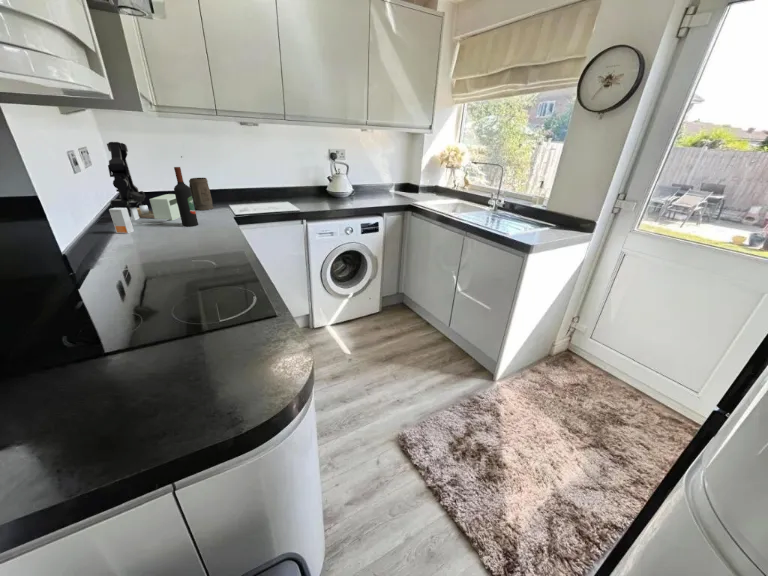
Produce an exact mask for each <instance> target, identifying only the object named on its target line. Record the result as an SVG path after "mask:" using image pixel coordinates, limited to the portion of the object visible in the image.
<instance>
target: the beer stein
mask: <svg viewBox="0 0 768 576" xmlns="http://www.w3.org/2000/svg"><path fill="white" fill-rule="evenodd" d="M208 182H209V181H208V179H207V177H192V178H189V180H188V183H189V187H190V190H191V194H192V198H193V203H194V207H195V210H196V209H197V210H196V211H210V210H209V209H211V210H214V208H215V207H214V204H213V198H212V194H211V190H210V187H209V183H208Z"/></svg>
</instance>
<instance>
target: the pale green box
mask: <svg viewBox="0 0 768 576" xmlns="http://www.w3.org/2000/svg"><path fill="white" fill-rule="evenodd" d="M149 203H150V207H151V211H153V214H154V217H155V218H154V219H155V220H166V221H168V222H169V221H174V220H177V219H181V217H180V213H179V208H178V204H177V200H176V196H175V193H168V194H167V193H166V194H162V195H158V196H155V197H152V198H149Z"/></svg>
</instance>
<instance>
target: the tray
mask: <svg viewBox="0 0 768 576" xmlns="http://www.w3.org/2000/svg"><path fill="white" fill-rule="evenodd" d="M137 211H138V214H139V219H141V218H143V219H144V218H145V219H146V218H148V219H149V218H150V219H152V218H153V219H155V217H154V214H153V210H149V213H150V214H148V215H142V214H141V211H140V208H137Z"/></svg>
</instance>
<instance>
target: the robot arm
mask: <svg viewBox="0 0 768 576" xmlns="http://www.w3.org/2000/svg"><path fill="white" fill-rule="evenodd" d="M106 147H107V149H108V152H110V154H111V155H110V156H111V158H110V159H109V160H108V165H107V167H108V172H109V177H110V178H114V180H113V181H112V185H113V187H114V188H115V191H116V192H118V194H119V197H118V199H115V198H114V199H113V200H110V205H111V207H118V208H127V210H128V213H129V217H131V212H130V207H136V208H140V207H139V206H141V205H143V204H142V202H144V201H145V198H146V197H147V196H146V194H145V191H143V190H141V191H139V187H137V186H136V185H135V184H134V181H133V179H132V175H131V172H130V168H129V165H128V162H127V156H128V152H129V149H128V146H127V144H126V143H123V142H119V141H110V142H108V143H106Z"/></svg>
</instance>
